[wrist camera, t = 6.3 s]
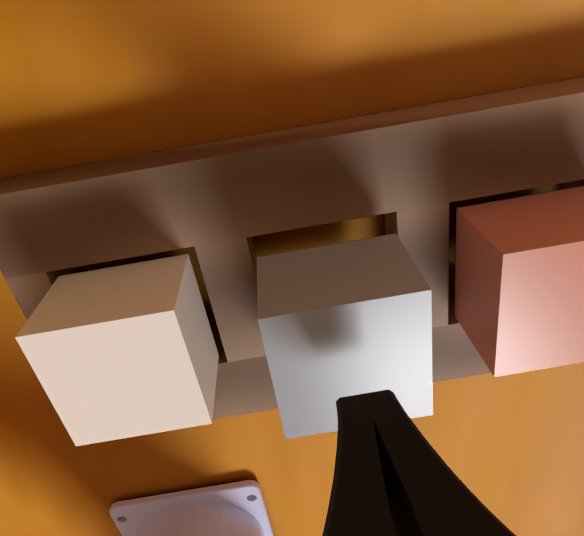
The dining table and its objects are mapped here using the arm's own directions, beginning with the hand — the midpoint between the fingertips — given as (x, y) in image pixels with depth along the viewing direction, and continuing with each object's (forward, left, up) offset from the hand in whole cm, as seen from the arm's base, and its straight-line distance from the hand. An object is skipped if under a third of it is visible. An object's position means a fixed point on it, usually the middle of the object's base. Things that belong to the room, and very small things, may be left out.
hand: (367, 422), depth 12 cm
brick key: (0, -7, -6) cm, 10 cm away
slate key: (0, 0, -5) cm, 5 cm away
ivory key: (0, +7, -7) cm, 10 cm away
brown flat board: (0, 0, -8) cm, 8 cm away
